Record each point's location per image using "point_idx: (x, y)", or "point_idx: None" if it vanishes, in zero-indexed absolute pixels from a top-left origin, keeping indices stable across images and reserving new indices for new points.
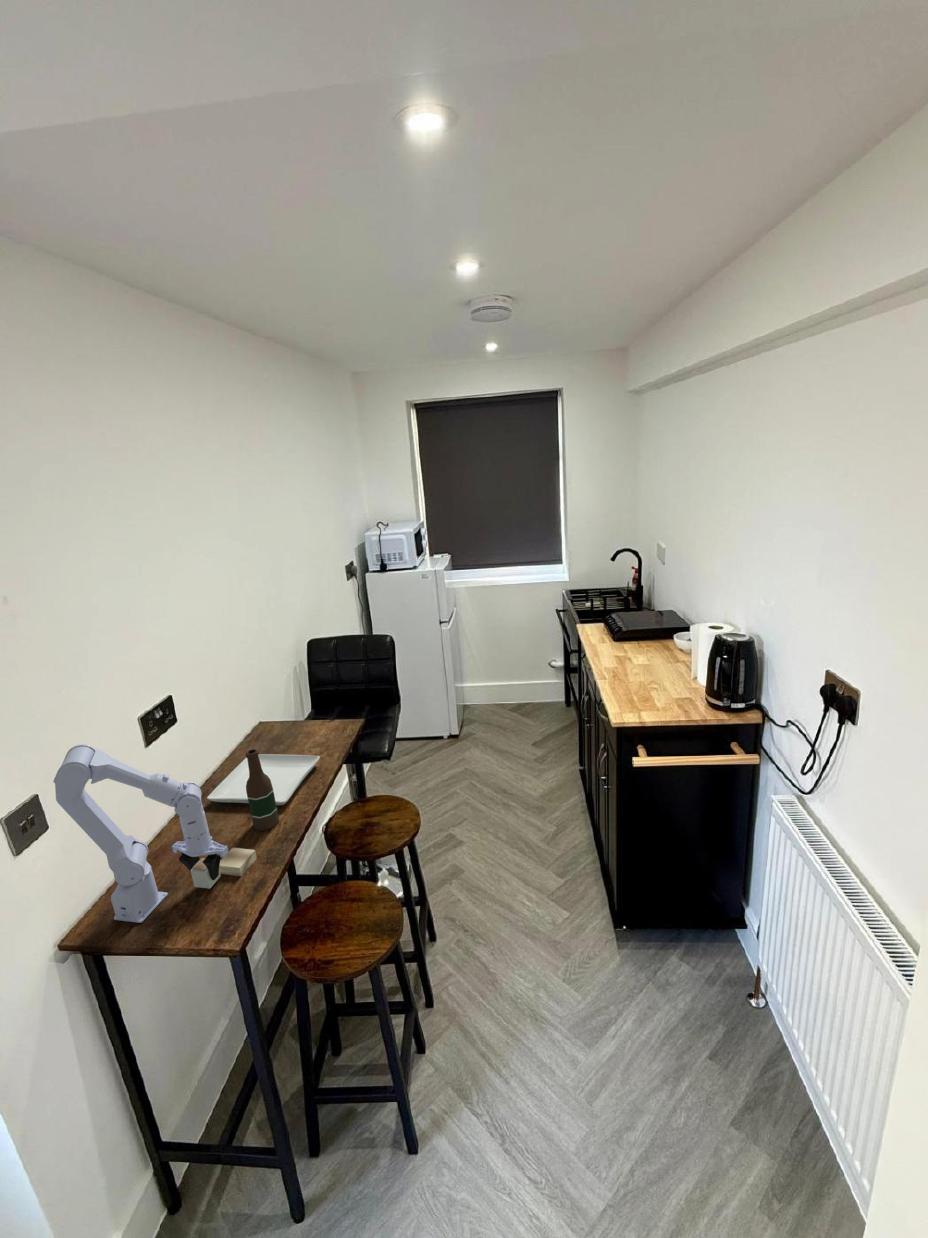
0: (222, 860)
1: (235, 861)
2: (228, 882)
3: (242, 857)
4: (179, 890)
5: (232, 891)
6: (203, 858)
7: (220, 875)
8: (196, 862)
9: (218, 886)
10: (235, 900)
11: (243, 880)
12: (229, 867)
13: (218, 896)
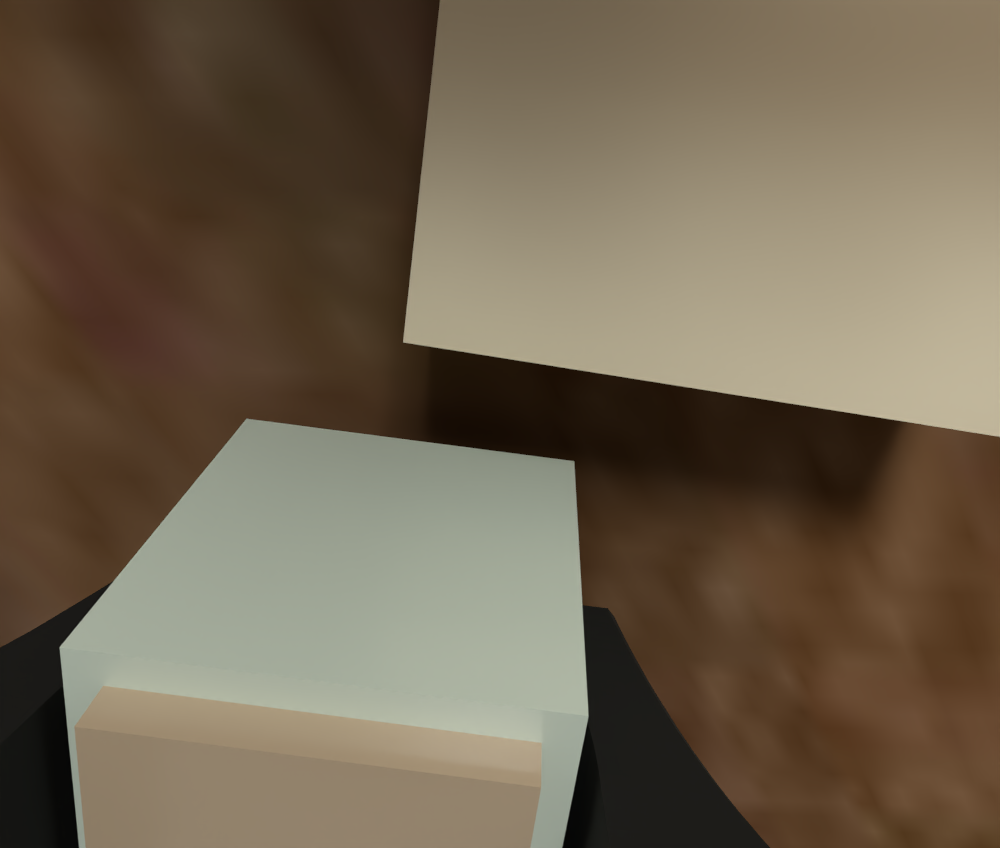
0: (470, 181)
1: (845, 221)
2: (731, 493)
3: (995, 51)
4: (16, 627)
5: (875, 667)
6: (156, 757)
7: (573, 470)
8: (42, 819)
9: (594, 570)
10: (979, 810)
11: (996, 455)
12: (745, 390)
13: (690, 742)
